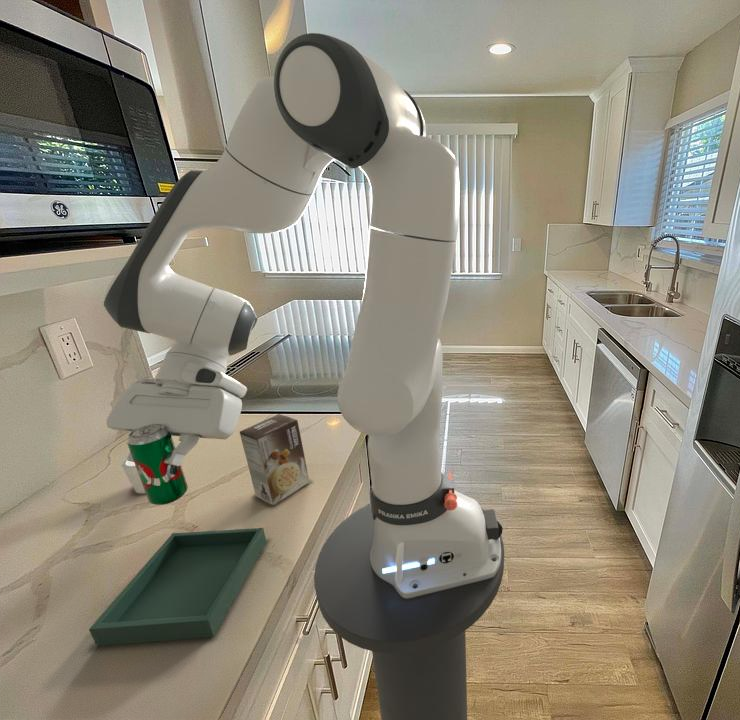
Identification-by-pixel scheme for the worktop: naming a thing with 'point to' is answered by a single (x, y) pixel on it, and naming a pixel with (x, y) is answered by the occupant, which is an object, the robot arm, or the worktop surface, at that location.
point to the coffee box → (275, 458)
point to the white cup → (133, 476)
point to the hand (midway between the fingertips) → (153, 463)
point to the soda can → (156, 464)
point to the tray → (182, 588)
